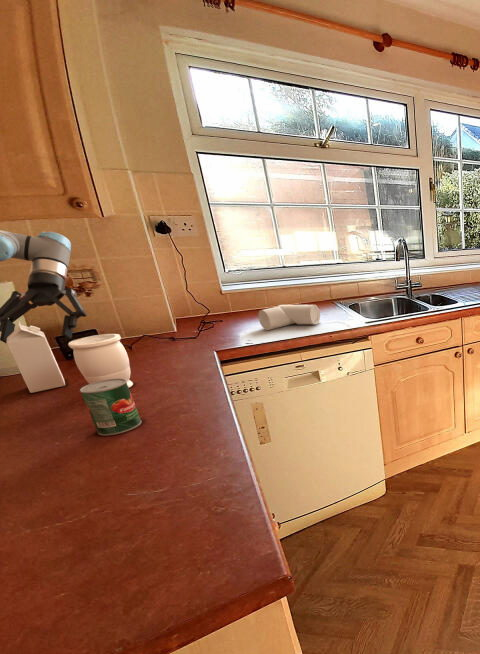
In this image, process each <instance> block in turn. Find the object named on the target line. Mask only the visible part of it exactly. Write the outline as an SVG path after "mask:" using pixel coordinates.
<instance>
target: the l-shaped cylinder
mask: <svg viewBox="0 0 480 654" xmlns="http://www.w3.org/2000/svg"><path fill="white" fill-rule="evenodd" d="M257 317H258V322H259V323H260V325H261V327H262V328H263V329H264V330H265V331H270V330H274V329H279V328H283V327H286V326H291V325H294V324H296V325H318V324H319V323H320V321H321V320H320V319H321V312H320V307H318V306H317V305H316V304H278V306H273V307H270V308H263V309H260V310H259V311H258V314H257Z"/></svg>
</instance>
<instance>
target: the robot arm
mask: <svg viewBox="0 0 480 654" xmlns="http://www.w3.org/2000/svg"><path fill="white" fill-rule="evenodd" d="M71 253H72V242H71V241H70V240H69V238H67V237H66V236H65V235H62V234H60V233H57V232H55V231H41V232H39V233H38V234H37V235H36V236H33V235H25V234H21V233H15V232H11V231H8V230H7V231H6V230H2V229H0V262H5V261H8V260H10V259H15V260H16V259H17V260H22V261H27V262H31V264H30V269H29V275H28V279H27V290H26V291H25V292H19V291H18V290H13V291H12V292H11V294H10V297H9V298H8V299H7V300H6V301H5V302H4V303H3V304H2V306H0V332H1V333H0V341H1V342H3V343H4V344H6V345H7V337H8V336H9V335H10V334H12V333H13V332H14V331H15V330H16V329H15V328H16V324H15V323H14V322H16V321H17V320H18V319H21V317H23V316H24V315H25V314H27V313H29V311H31V310H32V309H36V308H37V307H45V306H47V307H49V306H50V307H51V306H53V305H57V306H58V307H59V308H60V309H61V310H62V311H64V312H65V313H66V315H65V314H64V317H63V324H62V331H61V336H63V337H64V338H66V339H67V340H72V338H73V331H74V329H75V328H77V326H78V319H80V318H81V317H83V318H86V317H87V316H88V314H87V312H86V311H85V309H84V308H83V306H82V304H81V303H80V301H79V300H78V297H77V292H76V291H75V290H74V289H73V288H71V287H67V288H66V281H67V275H68V269H69V263H70V258H71ZM64 297H67V299H68V300H69V302H70V304H71V306H72V307H73V308H74V310H75V311H73V310H72V309H70V307H68V306H67V305H66V304H65V303H64V302H62V300H61V299H62V298H64ZM30 302H31V303H30Z"/></svg>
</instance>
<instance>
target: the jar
mask: <svg viewBox="0 0 480 654" xmlns="http://www.w3.org/2000/svg"><path fill="white" fill-rule="evenodd" d="M121 340H122V337H121V334H119V333H105V334H95V335H90V336H86V337H81V338H76V339H73V340H71V341H69V342H68V347H69V349H71V350H72V351H73V359H74V362H75V364H76V367H77V370H79V372H80V373H81V375H82V376H83V377H84V379H85V381H86V382H87V383H88V384H91V383H94V382H98V381H102V380H108V379H117V378H120V379H125V380H126V383H127V385H128V387H129V389H130V388H131V387H132V386H133V385H134V382H133V381H131V380H130V378H131V366H130V359H129V356H128V352H127V351H126V349H125V347H124V345H123V344H122V342H121Z"/></svg>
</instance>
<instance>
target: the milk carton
mask: <svg viewBox="0 0 480 654" xmlns="http://www.w3.org/2000/svg"><path fill="white" fill-rule="evenodd" d="M6 345H7V347H8V349H9V351H10V354H11V356H12V358H13V360H14V362H15V364H16V367H17V368H18V370H19V372H20V374H21V377H22V379H23V381H24V383H25V385H26V387H27V389H28V391H29V393H30V394H32V393H37V392H43V391H47V390H51V389H56V388H60V387H65V386H66V381H65V377H64V376H63V373H62V371H61V369H60V367H59V364H58V362H57V360H56V357H55V355H54V353H53V351H52V349H51V346H50V344H49V342H48V340H47V337H46V335H45V332H44V331H41V328H40V327H38V326H36V325H35V326H34V325H29V326H27V325H23V324H22V322H21V321H20V320H19V321H18V326H17V328H16V329H14V332H13V333H12V334H10V335H9V336H8V337H7V344H6Z"/></svg>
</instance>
